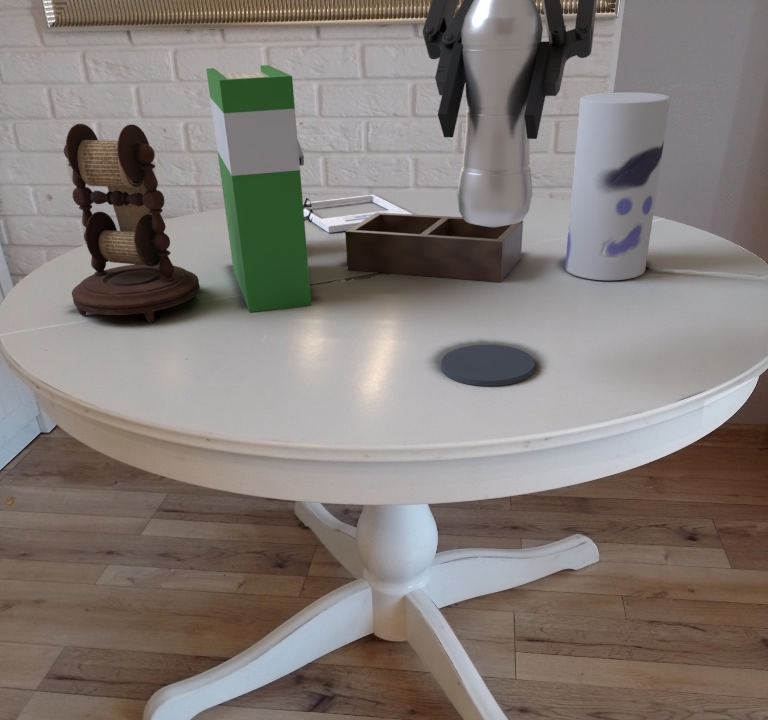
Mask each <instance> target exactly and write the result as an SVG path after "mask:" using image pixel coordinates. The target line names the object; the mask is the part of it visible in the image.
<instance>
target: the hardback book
mask: <svg viewBox="0 0 768 720" xmlns="http://www.w3.org/2000/svg"><path fill="white" fill-rule="evenodd" d="M205 69H206V78H207V85H208V93H209V99H210V107H211V114H212V122H213V128H214V137H215V145H216V150H217V158H218V165H219V171H220V172H219V174H220V179H221V187H222V195H223V202H224V203H223V204H224V209H225V217H226V224H227V225H226V226H227V232H228V239H229V246H230V247H229V248H230V253H231V260H232V268H233V273H234V276H235V279H236V281H237V283H238V284H237V285H238V286H239V290H240V291H241V294H242V297H243V299H244V302H245V305H246V308H247V311H248V312H249V313H256V312H257V313H258V312H266V311H274V310H282V309H291V308H299V307H309V306H312V294H311V284H310V271H309V261H308V259H309V258H308V249H307V247H308V246H307V237H306V236H307V235H306V225H305V224H306V223H305V222H304V217H305V216H304V211H303V203H304V202H303V188H302V177H301V166H300V163H299V152H298V141H299V139H298V130H297V118H296V117H297V116H296V106H295V95H294V93H295V92H294V81H293V76H292V75H291V74H288V73H286V72H284V71H282V70H280V69H278V68H276V67H273V66H272V65H269V64H264V65H260V71H257V72H242V73H239V72H238V73H221V72H219V71H218V69H216V68H214V67H212V68H211V67H210V68H205ZM297 139H298V140H297Z"/></svg>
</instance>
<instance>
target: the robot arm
mask: <svg viewBox="0 0 768 720" xmlns="http://www.w3.org/2000/svg"><path fill="white" fill-rule="evenodd" d="M459 1H460V0H431V3H430V6H429V9H428V12H427V15H426V18H425V21H424V25H423V28H422V32H421V33H422V37H423V40H424V44H425V47H426V52H427V55H428V58H429V59H430V60H437V59H438V63H437V67H436V72H435V75H434V76H435V77H434V79H435V84H436V89H437V91H438V96H441V98H440V103H439V107H438V112H437V117H438V121H439V125H440V128H441V131H442V135H443V138H454V135H455V131H456V125H457V121H458V118H459V117H458V116H459V112H460V108H461V103H462V99H463V95H464V90H465V87H466V83H465V72H464V62H463V51H462V49H463V44H462V36H461V30H462V26H463V23H464V19H465V16H466V14H467V12H468V10H469V8H470V6H471V4H472V3H473V1H474V0H463V1H462V2H461V4H460V6H459V7H458V4H459ZM540 1H541V4H542V10H543V16H544V22H545V27H546V31H547V32H546V33H547V38H548V41H547V40H545V41H544V40H543V41H541V42H540V43H539V47H538V51H537V56H536V61H535V66H534V71H533V75H532V80H531V85H530V90H529V95H528V99H527V104H526V109H525V114H524V118H525V125H526V133H527V139H529V140H537V139H538V135H539V131H540V125H541V121H542V115H543V111H544V105H545V101H546V97H557V95H558V93H559V92H560V91H561V86H562V81H563V76H564V71H565V67H566V66H565V65H566V64H567V63H566V62H567V61H569V60H570V59H571V58H573V57H577V58H579V59H585V58H587V57H589V56H590V55H591V54H592V49H593V42H594V31H595V22H596V15H597V14H596V13H597V6H598V5H597V4H598V0H577V8H576V18H575V26H574V28H572V29H570V30H567V25H565V20H564V14H563V8H562V2H561V0H540ZM457 7H458V9H457ZM456 10H457V11H456Z"/></svg>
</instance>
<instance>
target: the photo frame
mask: <svg viewBox="0 0 768 720" xmlns="http://www.w3.org/2000/svg"><path fill="white" fill-rule="evenodd" d="M310 202H311V206H312V207H305V209H304V210H303V211H304V217H306V216H308V215H309V213H310V211H311V210H313V209H319V208H327V207H335V206H344V205H351V204H360V203H368V202H372V203H374V204H376V205H378V206H380V207H382V208H384V209H385V210H379V211H371V212H363V213H357V214H349V215H342V216H333V217H326V218H325V217H324V218H321V217H319V216H318V215H317V214H314V212H313V213H312V212H311V215H310V217H309V218H310V220H311V219H312V222H311V223H313V224H315V225H317V226H318V227H319V228H321V229H323V230H324V231H325V232H327V233H328V234H331V233H339V232H344V231H347V230H349V229H350V228H352V227H354V226H355V225H357V224H358V223H360V222H362V221H363V220H365V219H367V218H368V217H370V216H372V215H373V214H375V213H377V212H378V213H396V214H413V213H412V212H410V211H408V210H406V209H404V208H401V207H399V206H397V205H396V204H393V203H391V202H389V201H387V200H385V199H384V198H381V197H379V196H377V195H375V194H366V195H357V196H349V197H341V198H332V199H326V200H317V201H307V203H306V205H309V206H310ZM304 203H305V202H303V205H304ZM312 217H313V218H312Z"/></svg>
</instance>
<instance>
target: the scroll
mask: <svg viewBox="0 0 768 720" xmlns="http://www.w3.org/2000/svg"><path fill="white" fill-rule="evenodd" d="M63 154H64V156H65V158H66V159H67V161H68V167H70V168H71V170H72V175H71V179H72V183H73V185H74V186H75V188H74V189H73V190H72V199H73V201H74V203H75V204H76V205H77V206H79V207H78V209H79V210H81V211H82V217H81V218H82V219H81V223H82V225H83V227H84V228H85V230H84V232H83V240H84V241H85V243H86V248H87V249H88V252H89V254H90V256H91V259H90V265H91V267H92V269H94V270H95V272H94V273H93V274H91V275H89V276H87V277H86V278H84V279H83V280H81V282H80V283H79V284H77V285H76V286H74V287H73V289H72V291H71V298H72V301H73V305H74V306H75V307H76V310H77V312H78V313H79V315H81V316H82V317H84V316H86V315H87V313H90V314H94V315H104V316H105V315H107V316H122V315H124V316H126V315H136V314H144V317H145V319H146V321H147V322H148V323H150V324H151V323H153V322H154V320H155V312H157V311H161V310H164V309H168V308H169V309H170V308H172V307H176V306H178V305H181V304H183V303H186V302H188V301H190V300H191V299H194V298H196V297H197V295H198V294H199V292H200V289H201V287H200V282H199V281H200V280H199V277H198V275H197V274H195V273H194V272H192V271H190V270H187V269H185V268H184V267H180V266H176V265H174V264H173V262H172V261H171V259H170V257H169V256H170V255H171V254H172V253H171V251H170V250H168V249H169V248H170V246H171V239H170V237H169V235H168V234H167V233H165V231H166V229H167V228H166V222H165V221H164V218H163V216H162V215H161V213H163V211H164V209H163V208H164V206H165V195H164V193H162V191H161V190H158V186H159V181H158V179H157V177H156V174H155V172H154V169H155V168H156V164H154V163H153V161H154V160H155V157H156V155H155V154H156V153H155V150H154V148H153V147H152V146H151V145H150V143H149V140H148V138H147V136H146V134H145V133H144V131H143V130H142V128H141V127H139V126H138V125H136V124H127V125H125V126H124V127H123V128H122V129H121V131H120V133H119V135H118V139H117V140H110V139H109V140H105V139H103V140H102V139H101V140H100V139H98V137H97V135H96V133H95V132H94V130H93V129H92V128H91V127H90V126H89V125H87V124H84V123H76V124H74V125H73V126H71V127H70V129H69V130H68V133H67V134H66V139H65V145H64V147H63ZM86 185H88V186H91V187H107V192H103V191H101V190H94V191H92V189H91V188H90V187H88V186H86ZM105 203H107V204H108V205H109V206H112V207H113V210H114V213H115V217H116V220H117V223H118V227H119V230H118V229H117V225H116V224H115V221H114V220H113V218H112V216H110V215H109V214H108V213H106V212H104V211H95V212H94V213H93V212H92V210H91V209H92V208H93V204H95V205H102V204H105ZM108 262H109V263H114V264H115V263H116V264H126V265H120V266H115V267H112V268H108V269H106V266H107V263H108Z"/></svg>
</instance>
